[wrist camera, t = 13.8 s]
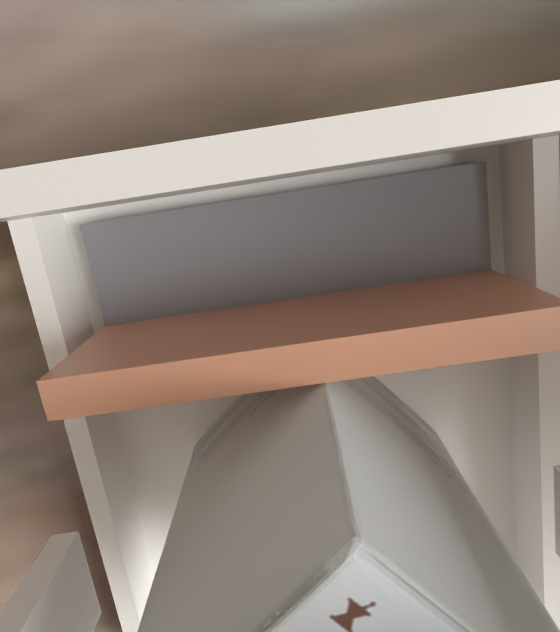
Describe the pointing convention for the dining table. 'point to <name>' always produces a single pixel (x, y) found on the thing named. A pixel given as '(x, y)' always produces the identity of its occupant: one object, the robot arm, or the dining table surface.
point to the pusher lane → (411, 387)
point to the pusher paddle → (297, 294)
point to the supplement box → (333, 526)
